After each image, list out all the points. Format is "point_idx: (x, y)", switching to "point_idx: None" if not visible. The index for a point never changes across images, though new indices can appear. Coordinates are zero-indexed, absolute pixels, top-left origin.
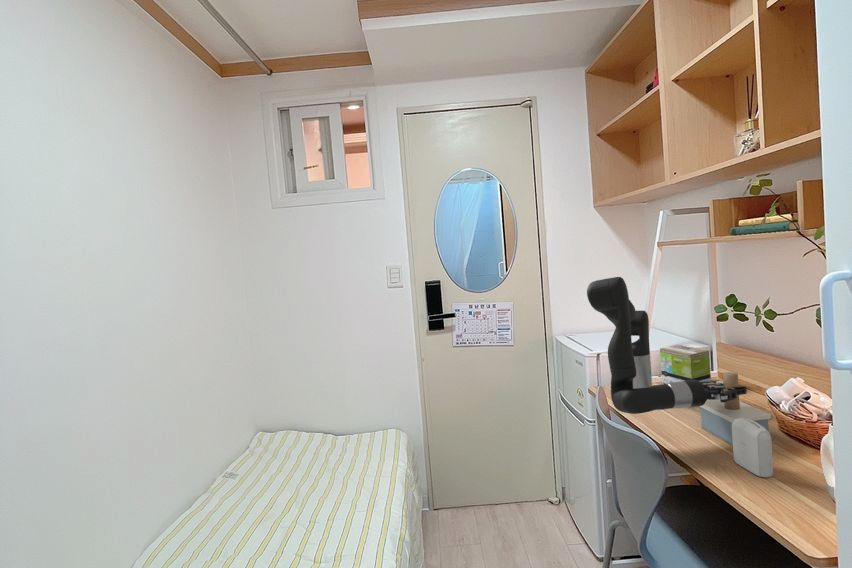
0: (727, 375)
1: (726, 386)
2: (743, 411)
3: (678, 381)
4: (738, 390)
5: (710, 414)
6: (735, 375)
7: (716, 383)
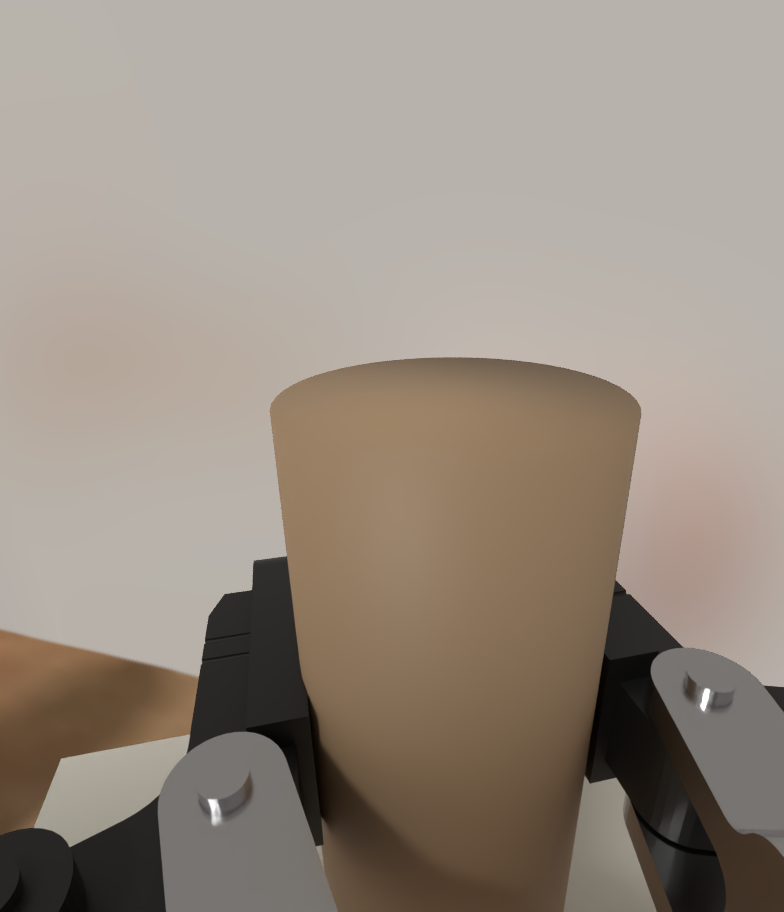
0: (605, 432)
1: (554, 742)
2: (611, 847)
3: None
4: (662, 639)
5: None
6: (579, 375)
7: (209, 899)
